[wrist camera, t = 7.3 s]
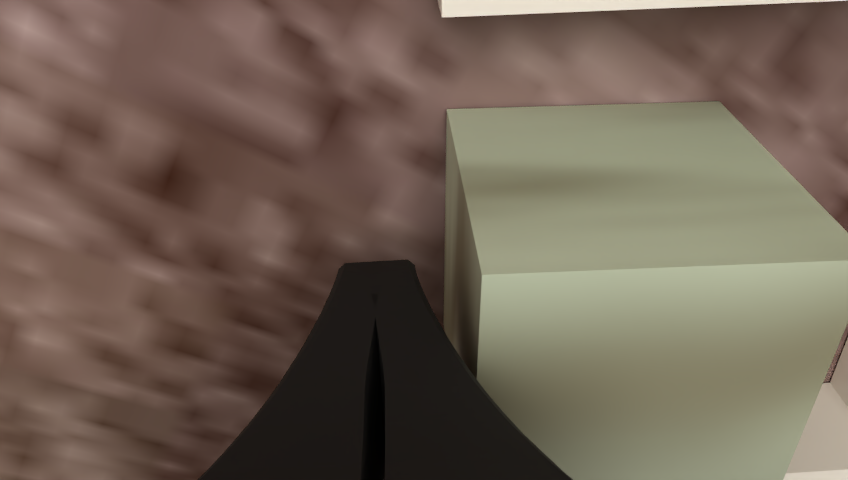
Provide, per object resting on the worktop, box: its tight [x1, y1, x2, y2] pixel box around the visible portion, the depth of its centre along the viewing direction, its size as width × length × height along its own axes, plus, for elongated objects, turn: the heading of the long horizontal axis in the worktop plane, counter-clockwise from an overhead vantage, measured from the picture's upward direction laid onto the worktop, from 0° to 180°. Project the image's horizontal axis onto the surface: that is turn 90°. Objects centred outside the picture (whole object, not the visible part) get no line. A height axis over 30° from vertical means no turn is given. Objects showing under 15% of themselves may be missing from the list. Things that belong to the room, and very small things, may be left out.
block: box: [444, 101, 848, 480], centre depth 13 cm, size 5×5×5 cm
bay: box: [437, 0, 848, 480], centre depth 14 cm, size 12×10×2 cm
